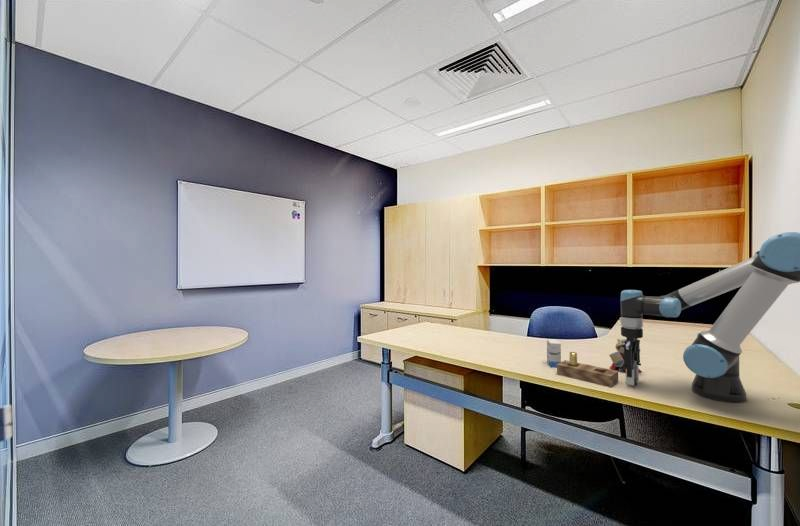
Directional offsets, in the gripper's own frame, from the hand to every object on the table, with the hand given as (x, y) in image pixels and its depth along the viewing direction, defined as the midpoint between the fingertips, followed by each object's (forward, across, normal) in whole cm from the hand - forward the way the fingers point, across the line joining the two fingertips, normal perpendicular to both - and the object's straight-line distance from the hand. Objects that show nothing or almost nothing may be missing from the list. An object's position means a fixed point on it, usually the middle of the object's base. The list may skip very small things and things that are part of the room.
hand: (632, 382), depth 139 cm
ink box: (+1, -3, -34) cm, 34 cm away
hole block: (+1, +5, -16) cm, 17 cm away
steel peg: (+1, 0, 0) cm, 1 cm away
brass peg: (+1, +5, -22) cm, 22 cm away
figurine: (+1, -17, -7) cm, 18 cm away
